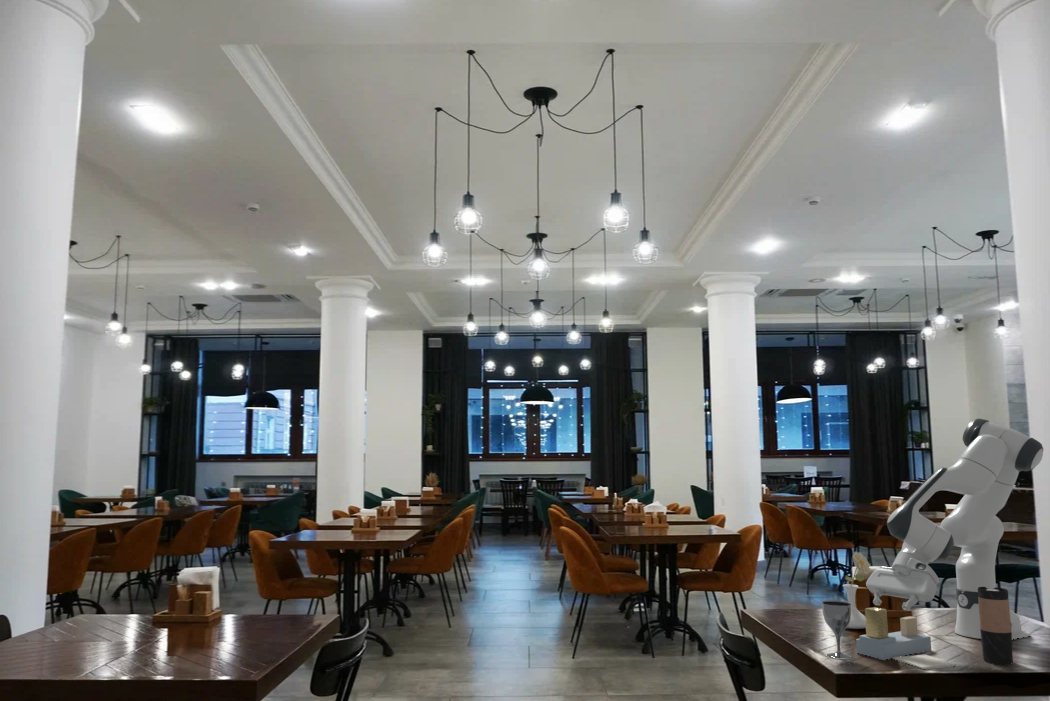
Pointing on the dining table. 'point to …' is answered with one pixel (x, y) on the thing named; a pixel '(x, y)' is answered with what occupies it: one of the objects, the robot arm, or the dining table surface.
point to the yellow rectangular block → (876, 623)
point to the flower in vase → (856, 617)
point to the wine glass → (837, 621)
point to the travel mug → (995, 625)
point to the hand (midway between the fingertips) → (890, 606)
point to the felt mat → (924, 661)
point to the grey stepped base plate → (895, 642)
